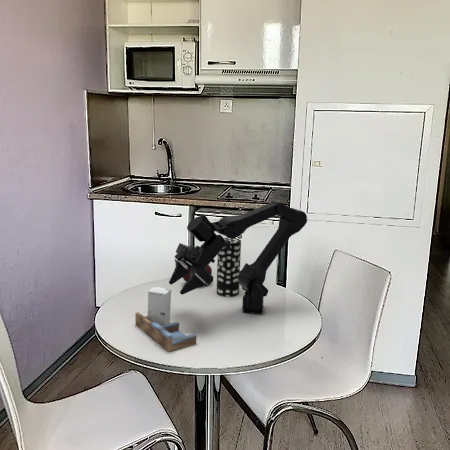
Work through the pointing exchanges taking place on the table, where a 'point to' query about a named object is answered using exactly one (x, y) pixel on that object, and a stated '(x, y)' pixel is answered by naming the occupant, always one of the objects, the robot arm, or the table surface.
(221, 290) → the spotted tube
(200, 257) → the robot arm
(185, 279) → the potato
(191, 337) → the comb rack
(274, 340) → the table surface
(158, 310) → the skincare box
